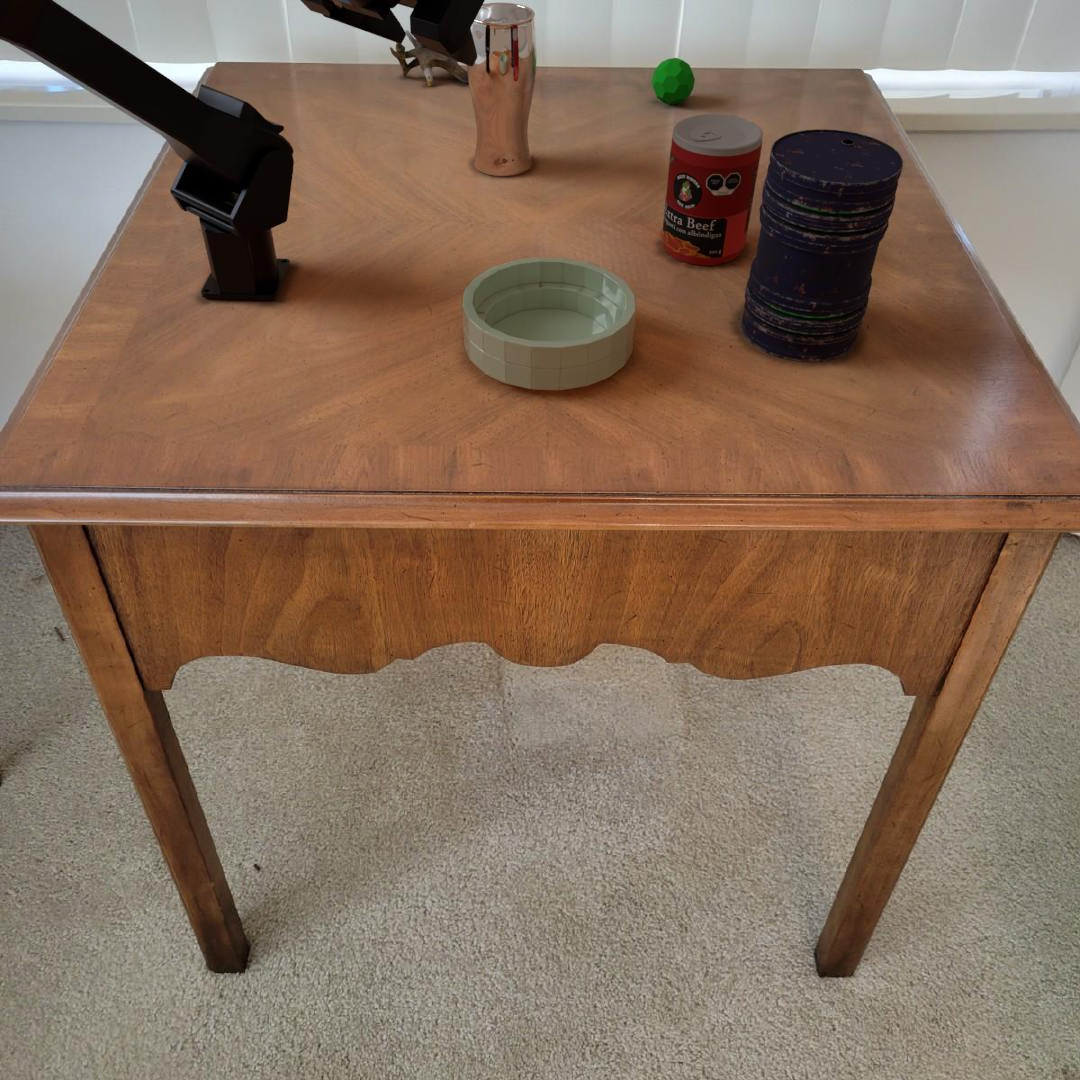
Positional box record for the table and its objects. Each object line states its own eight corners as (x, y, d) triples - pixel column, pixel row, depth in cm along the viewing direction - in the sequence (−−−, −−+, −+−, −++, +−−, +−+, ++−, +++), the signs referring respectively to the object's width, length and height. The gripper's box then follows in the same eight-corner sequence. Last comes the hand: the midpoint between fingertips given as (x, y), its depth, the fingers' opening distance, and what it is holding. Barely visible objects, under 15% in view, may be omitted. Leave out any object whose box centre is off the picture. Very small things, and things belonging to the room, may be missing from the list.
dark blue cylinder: (837, 375, 81) (883, 196, 71) (722, 341, 84) (750, 165, 74) (872, 318, 87) (920, 145, 77) (764, 288, 91) (795, 119, 80)
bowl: (633, 399, 78) (638, 349, 75) (457, 393, 79) (454, 343, 75) (629, 306, 88) (633, 259, 85) (472, 301, 88) (470, 254, 85)
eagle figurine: (393, 84, 122) (466, 71, 121) (385, 20, 121) (459, 7, 119) (410, 99, 129) (479, 87, 128) (402, 39, 128) (471, 27, 127)
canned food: (644, 247, 96) (655, 130, 88) (695, 219, 100) (709, 105, 92) (710, 276, 92) (727, 157, 84) (760, 246, 96) (781, 129, 89)
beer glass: (534, 179, 106) (536, 25, 96) (467, 177, 106) (462, 23, 96) (536, 151, 111) (537, 2, 101) (472, 150, 111) (467, 0, 101)
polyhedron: (695, 109, 120) (699, 67, 117) (653, 110, 120) (657, 68, 117) (687, 94, 124) (692, 52, 121) (647, 94, 124) (651, 53, 120)
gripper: (469, -142, 77) (555, -9, 91) (305, -175, 85) (406, -48, 99) (401, -7, 77) (496, 105, 91) (244, -53, 86) (354, 56, 100)
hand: (437, 49), depth 95 cm, fingers open, 9 cm apart
